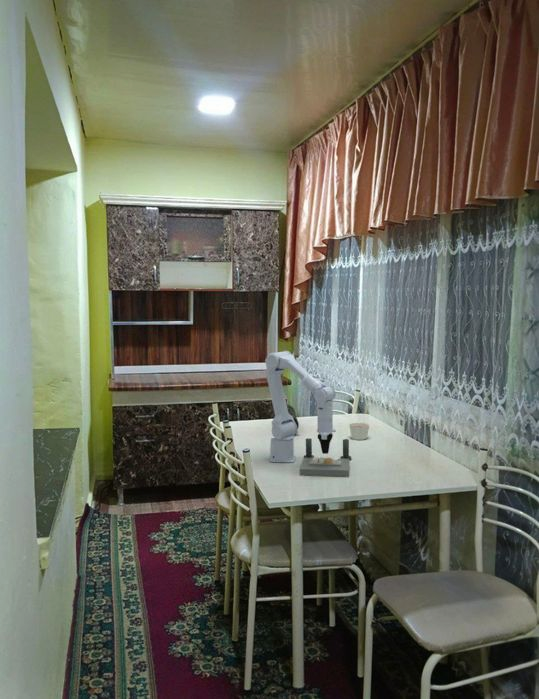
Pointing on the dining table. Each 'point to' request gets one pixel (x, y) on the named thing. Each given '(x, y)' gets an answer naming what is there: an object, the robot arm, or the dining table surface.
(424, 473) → the dining table surface
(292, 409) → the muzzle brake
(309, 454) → the gray flanged cylinder
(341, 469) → the breaker panel
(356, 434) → the candle
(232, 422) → the dining table surface
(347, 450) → the dark flanged peg
